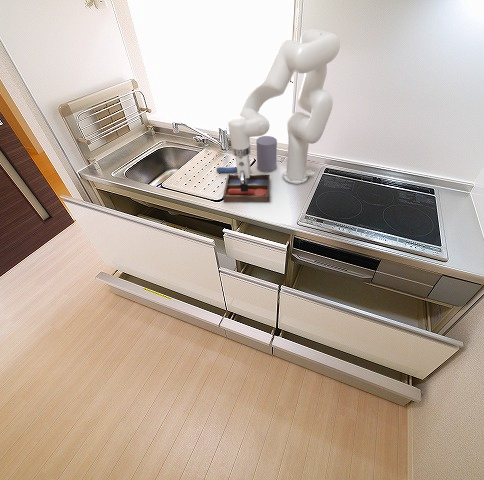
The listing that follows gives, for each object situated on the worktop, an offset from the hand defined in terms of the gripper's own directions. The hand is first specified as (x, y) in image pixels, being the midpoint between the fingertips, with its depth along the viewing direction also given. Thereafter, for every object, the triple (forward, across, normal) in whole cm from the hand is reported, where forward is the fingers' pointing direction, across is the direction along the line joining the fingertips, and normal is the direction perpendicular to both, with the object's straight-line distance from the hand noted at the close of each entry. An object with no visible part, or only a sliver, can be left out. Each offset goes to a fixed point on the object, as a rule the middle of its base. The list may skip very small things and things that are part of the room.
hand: (245, 184), depth 119 cm
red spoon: (+5, -1, 0) cm, 5 cm away
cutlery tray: (+6, +4, 0) cm, 7 cm away
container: (+7, +26, -10) cm, 28 cm away
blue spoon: (+6, +20, +8) cm, 23 cm away
